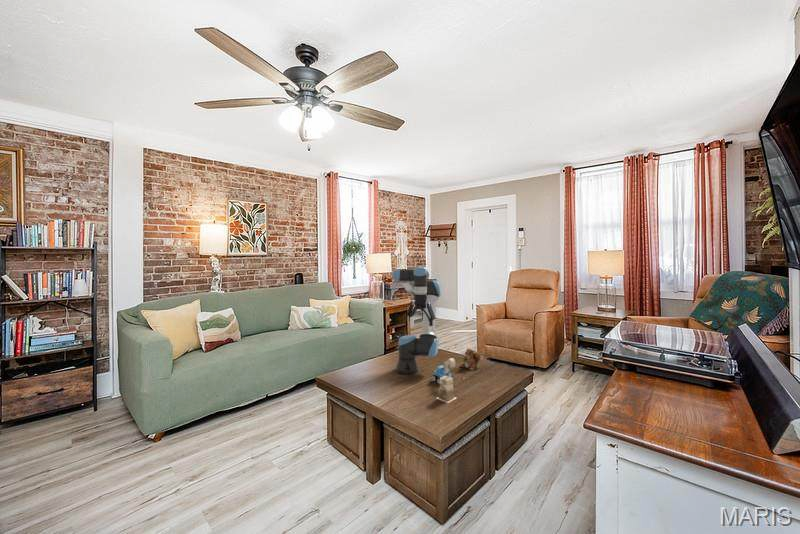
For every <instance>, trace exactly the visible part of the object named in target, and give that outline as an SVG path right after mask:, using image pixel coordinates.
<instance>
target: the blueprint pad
mask: <svg viewBox="0 0 800 534" xmlns="http://www.w3.org/2000/svg"><path fill="white" fill-rule="evenodd" d="M456 399H457V397H455V396H454V398H453V399H452V400H450V401H448V402H447V401H445V400H442V399H439V396H438V397H436V400H439V401H442V402H443V403H444V402H445V403H447V404H449V403H450V402H452V401H454V400H456Z"/></svg>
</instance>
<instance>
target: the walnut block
mask: <svg viewBox="0 0 800 534" xmlns="http://www.w3.org/2000/svg"><path fill="white" fill-rule="evenodd" d="M438 397H439V399H442V400H445V401H447V402H448V401H450V400H452V399H453V398H454V397H455V388H453V389H452V390H450V391H448V392H446V391H443V390H441V389H440V388H438ZM439 399H438V400H439ZM442 400H441V401H442ZM452 401H453V400H452ZM447 402H446V403H447Z"/></svg>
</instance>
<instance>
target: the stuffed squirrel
mask: <svg viewBox="0 0 800 534" xmlns="http://www.w3.org/2000/svg"><path fill="white" fill-rule="evenodd" d="M463 356H464V357H463V358H462V361H463V363H462V364H460V365H459V367H460V368H466V369H469V371H474V370H475V369H476V368H477V366H478V364H479V362H480V360H481V359H482V354H481V353H480V352H477V351H475V350H473V349H471V348H469V347H467V348H466V350H465V353H463Z"/></svg>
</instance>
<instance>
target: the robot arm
mask: <svg viewBox="0 0 800 534" xmlns="http://www.w3.org/2000/svg"><path fill="white" fill-rule="evenodd" d="M429 278H430V272H429V271H428V270H427V267H426V266H415V267H413V268H412V269H411V268H410V269H409V268H408V269H399V268H398V269H393V270H392V280H393V282H396V283H397V282H398V283H400V284H402V286H403V288H404V290H405V292H407V293H408V294H410V295H412V296H413V300H410V303H409V307H408V309H407V312H406V316H408V319H409V328H410V329H412V328H415V317H414V315H415V314H416V313H417V311H418V310H420V311H421V310H422V328H421V333H420V334H419V337H417V336H416V335H414V334H406V335H403V336H400V337H399V338H398V342H397V343H398V344H397V346H398V360H397V365H396V367H395V368H396V370H395V371H396V372H397V373H399V374H402V375H412V374H416V373H418V372H419V365H418V362H417V357H428V358H430V357H431V358H432V357H433V358H434V357H436V356H437V354H438V351H439V344H440V340H439V338H437V337H438V336H437V334H436V311H437V309H436V308H437V301H438V300H439V298H440V297H441V295H442V294H441V285H440V282H439V280H434V279H433V280H430V279H429Z"/></svg>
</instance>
